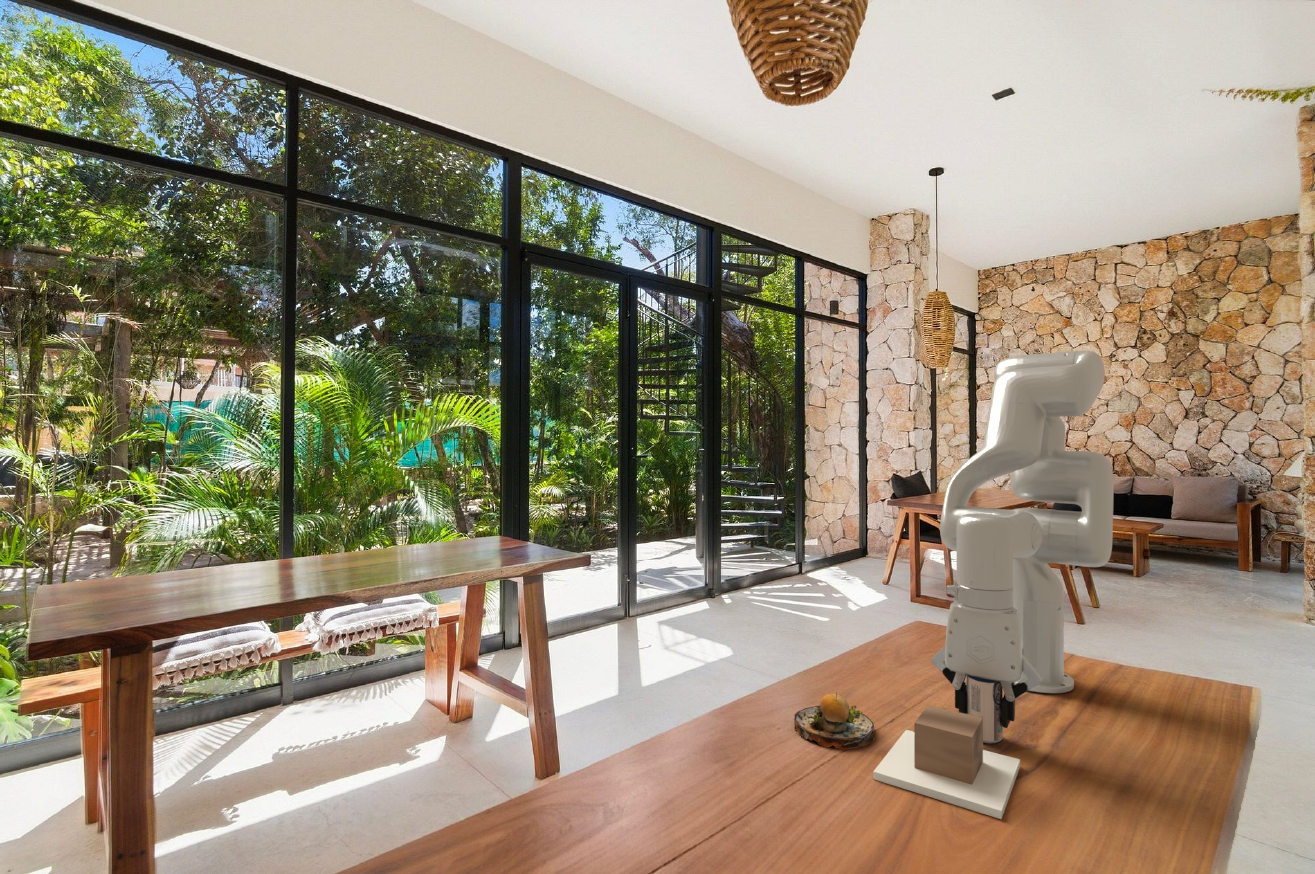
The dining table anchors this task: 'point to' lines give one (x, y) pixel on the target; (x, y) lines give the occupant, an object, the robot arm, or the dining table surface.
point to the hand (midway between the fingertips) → (984, 717)
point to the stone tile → (980, 796)
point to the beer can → (986, 706)
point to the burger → (835, 724)
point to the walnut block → (948, 744)
